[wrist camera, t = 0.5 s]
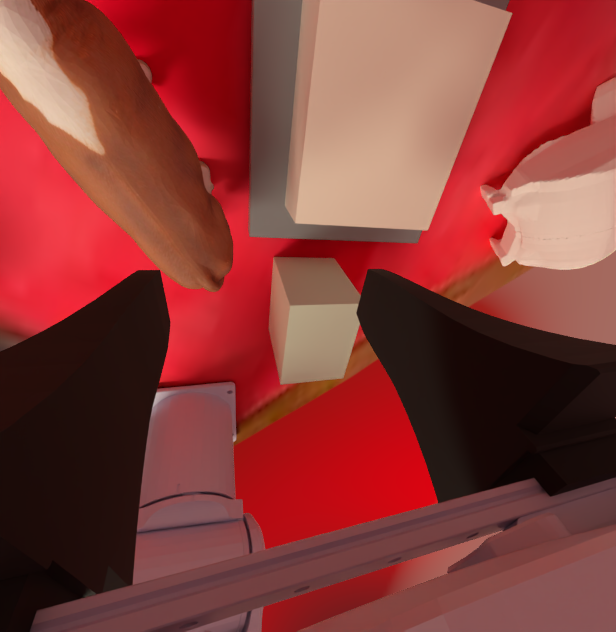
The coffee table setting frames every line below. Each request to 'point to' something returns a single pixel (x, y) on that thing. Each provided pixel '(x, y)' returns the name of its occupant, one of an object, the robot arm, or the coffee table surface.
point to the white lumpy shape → (563, 196)
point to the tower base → (362, 111)
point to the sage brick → (311, 319)
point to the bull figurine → (114, 134)
